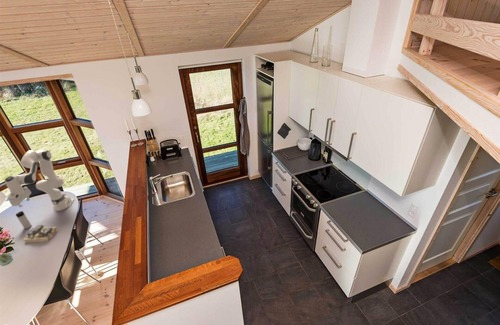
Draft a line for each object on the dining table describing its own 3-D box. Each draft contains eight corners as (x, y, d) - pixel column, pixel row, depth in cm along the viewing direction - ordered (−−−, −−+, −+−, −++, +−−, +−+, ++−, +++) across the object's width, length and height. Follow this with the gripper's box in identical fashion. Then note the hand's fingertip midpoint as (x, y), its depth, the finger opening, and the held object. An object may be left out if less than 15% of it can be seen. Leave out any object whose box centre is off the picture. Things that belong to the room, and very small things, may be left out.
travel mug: (27, 229, 259) (18, 215, 249) (22, 228, 261) (13, 214, 251) (33, 225, 265) (24, 211, 255) (28, 224, 266) (19, 210, 256)
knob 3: (49, 232, 255) (46, 227, 251) (53, 232, 255) (51, 227, 252) (44, 238, 248) (41, 233, 245) (48, 238, 248) (45, 233, 245)
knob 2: (40, 230, 253) (37, 224, 249) (45, 229, 253) (42, 224, 249) (35, 235, 246) (32, 230, 242) (40, 235, 246) (36, 230, 242)
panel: (36, 230, 258) (34, 227, 256) (58, 229, 259) (56, 226, 257) (25, 242, 244) (23, 239, 242) (48, 241, 245) (46, 238, 243)
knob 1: (35, 233, 255) (32, 228, 251) (40, 233, 255) (37, 227, 251) (29, 239, 248) (26, 233, 244) (34, 238, 248) (31, 233, 244)
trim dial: (32, 236, 245) (30, 234, 244) (35, 236, 245) (33, 234, 244) (30, 238, 243) (28, 236, 241) (33, 238, 243) (31, 236, 241)
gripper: (22, 185, 239) (29, 196, 246) (5, 198, 221) (13, 210, 228) (29, 185, 239) (35, 196, 246) (13, 198, 222) (20, 210, 229)
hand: (24, 203), depth 237 cm, fingers open, 8 cm apart
